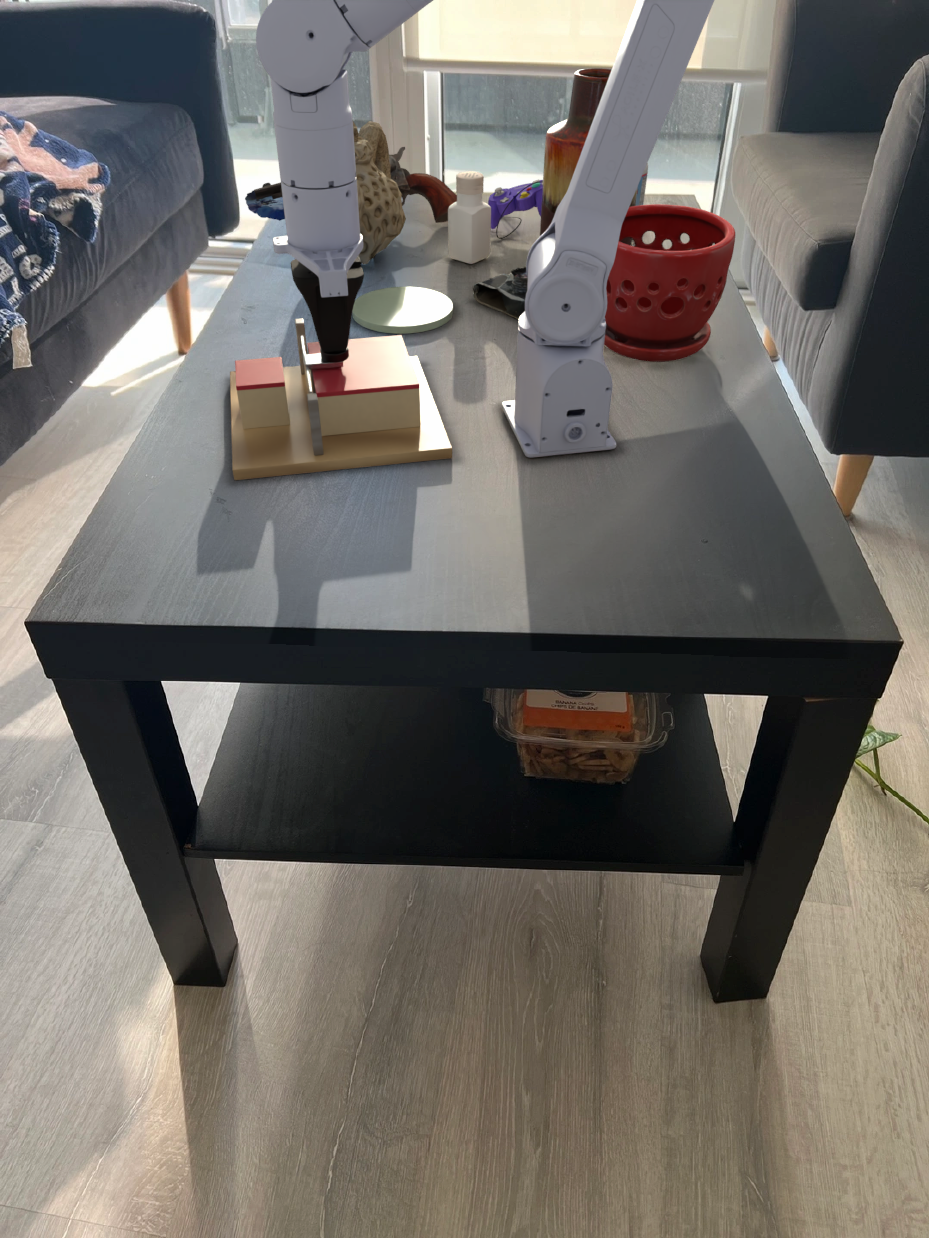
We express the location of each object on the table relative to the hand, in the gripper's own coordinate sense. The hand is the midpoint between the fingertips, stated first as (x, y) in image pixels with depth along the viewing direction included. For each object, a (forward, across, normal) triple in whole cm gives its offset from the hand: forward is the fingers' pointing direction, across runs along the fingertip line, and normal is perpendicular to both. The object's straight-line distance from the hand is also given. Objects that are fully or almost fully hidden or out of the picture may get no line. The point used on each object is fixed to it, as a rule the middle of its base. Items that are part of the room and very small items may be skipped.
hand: (333, 348), depth 79 cm
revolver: (+7, -49, +10) cm, 50 cm away
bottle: (+7, -43, +40) cm, 59 cm away
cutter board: (+6, 0, 0) cm, 6 cm away
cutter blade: (+5, 0, -1) cm, 5 cm away
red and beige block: (+5, 0, +2) cm, 6 cm away
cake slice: (+6, 0, -6) cm, 9 cm away
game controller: (+7, -47, +28) cm, 55 cm away
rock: (0, -61, +5) cm, 61 cm away
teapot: (+6, -40, +6) cm, 41 cm away
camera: (+7, -21, +22) cm, 31 cm away
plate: (+6, -22, +9) cm, 25 cm away
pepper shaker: (+7, -37, +20) cm, 42 cm away
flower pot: (+7, -9, +32) cm, 34 cm away
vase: (+7, -32, +32) cm, 46 cm away
